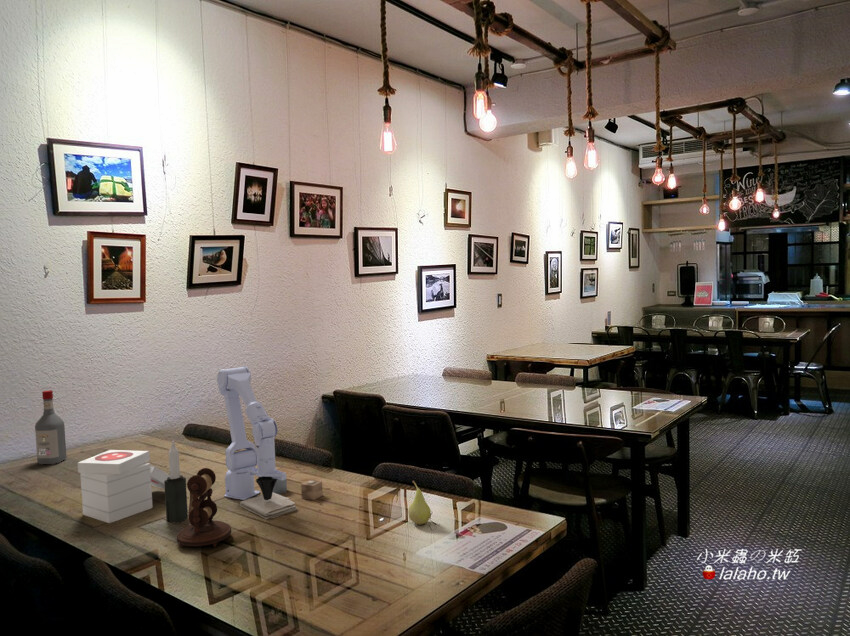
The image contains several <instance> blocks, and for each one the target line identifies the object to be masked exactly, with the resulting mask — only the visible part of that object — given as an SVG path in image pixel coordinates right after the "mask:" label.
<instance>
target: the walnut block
mask: <svg viewBox="0 0 850 636" xmlns="http://www.w3.org/2000/svg"><path fill="white" fill-rule="evenodd" d="M300 489H301V490H300V491H301V499H303V500H309V501H315V500H317V499H319V498H321V497H323V481H321V480H315V479H314V480H313V479H309V480H306V481H305V482H302V483H300Z"/></svg>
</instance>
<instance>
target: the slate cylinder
mask: <svg viewBox="0 0 850 636" xmlns="http://www.w3.org/2000/svg"><path fill="white" fill-rule="evenodd" d="M286 478H287V476H286ZM287 483H288V478H287V479H285V480H283V481H282V480H280V479H278V480H277V481H276V483H275V486H274V489H273V492H274V493H276V494H279V495H281V494H285V493H287V492H288V484H287Z"/></svg>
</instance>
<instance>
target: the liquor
mask: <svg viewBox="0 0 850 636" xmlns="http://www.w3.org/2000/svg"><path fill="white" fill-rule="evenodd" d="M41 393H42V401H43V403H42V404H43V412H42V414H43V415H41V417H40V418H39V419H38V420H37V421H36V423H35V425H34V431H35V432H34V433H35V445H36V448H35V449H36V458H37V464H39V465H40V464H53V465H56V464H55V463H57V464H60V463H62V462H64V461H66V460H67V457H68V456H67V445H66V429H65V421H64V420H63V418H61V417H60V416H58V415H57V414H56V413H55V410H54V393H53V390H49V389H48V390H44V391H42V392H41ZM65 459H66V460H65ZM63 460H64V461H63ZM61 461H62V462H61ZM59 462H60V463H59Z"/></svg>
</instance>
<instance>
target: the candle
mask: <svg viewBox="0 0 850 636" xmlns="http://www.w3.org/2000/svg"><path fill="white" fill-rule="evenodd" d="M168 468H169V469H168V471H169V475H170V477H168V478H167V480H165V481H164V485H165V489H164V497H165V499H164V501H165V502H164V503H165V517H166V523H173V524H180V523H182V522H184V521H185V520H188V519H189V518H188V514H189V509H188V495H187V493H188V492H187V479H186V477H184V476H183V475H182V474H181V470H180V452H179V450H178V448H177V447H176V444H175V441H174V440H172V441H171V446H170V449H169V450H168Z"/></svg>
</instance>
